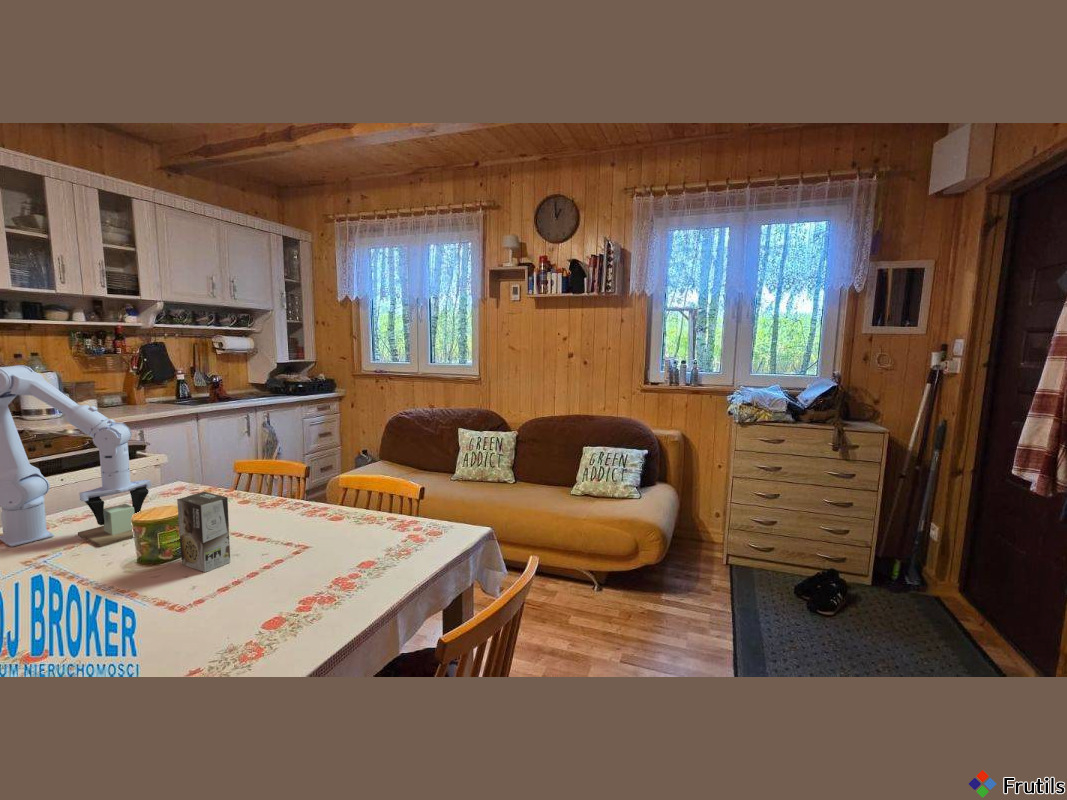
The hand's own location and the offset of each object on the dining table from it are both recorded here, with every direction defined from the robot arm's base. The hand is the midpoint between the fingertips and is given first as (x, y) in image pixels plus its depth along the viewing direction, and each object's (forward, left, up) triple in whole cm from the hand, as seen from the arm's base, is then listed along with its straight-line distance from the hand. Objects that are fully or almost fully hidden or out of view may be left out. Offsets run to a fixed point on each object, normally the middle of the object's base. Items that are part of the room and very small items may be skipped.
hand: (119, 519), depth 128 cm
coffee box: (+36, +3, -4) cm, 36 cm away
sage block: (0, 0, -3) cm, 3 cm away
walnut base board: (0, 0, -4) cm, 4 cm away
